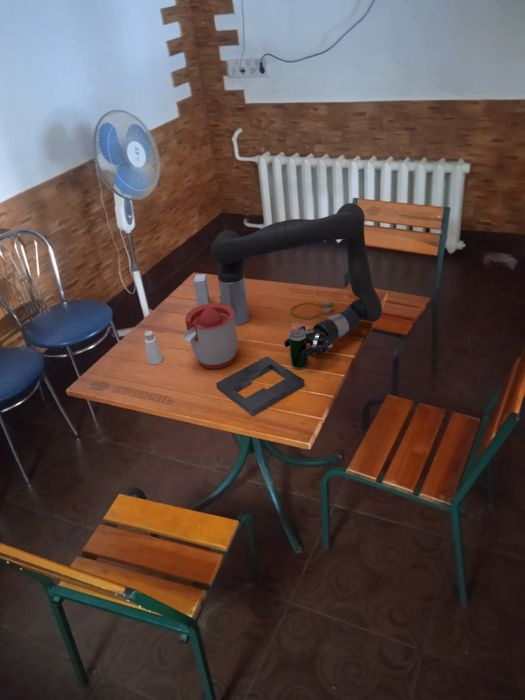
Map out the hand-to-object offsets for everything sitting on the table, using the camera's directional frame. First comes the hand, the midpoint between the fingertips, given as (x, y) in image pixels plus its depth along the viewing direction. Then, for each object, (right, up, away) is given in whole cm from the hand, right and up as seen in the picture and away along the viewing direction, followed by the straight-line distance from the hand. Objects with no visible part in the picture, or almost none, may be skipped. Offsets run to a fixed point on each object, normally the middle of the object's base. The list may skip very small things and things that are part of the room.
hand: (293, 349), depth 173 cm
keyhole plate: (-10, -11, -3) cm, 16 cm away
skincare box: (-32, +17, +43) cm, 56 cm away
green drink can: (+2, -5, +5) cm, 7 cm away
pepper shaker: (-46, -4, +15) cm, 48 cm away
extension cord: (+9, +14, +32) cm, 36 cm away
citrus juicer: (-25, -4, +11) cm, 28 cm away
